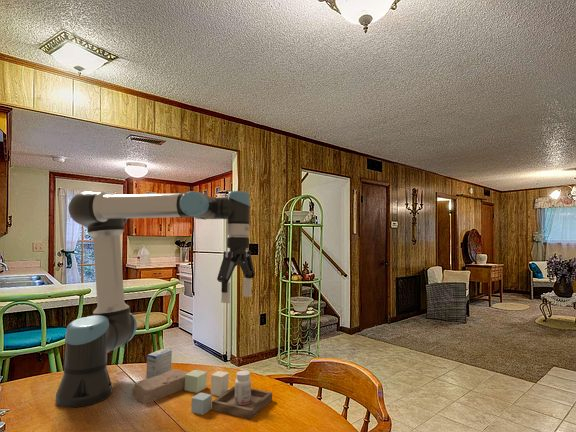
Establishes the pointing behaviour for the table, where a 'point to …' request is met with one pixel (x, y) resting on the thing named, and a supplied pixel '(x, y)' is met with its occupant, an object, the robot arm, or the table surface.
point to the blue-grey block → (201, 403)
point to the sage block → (195, 381)
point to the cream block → (219, 383)
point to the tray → (229, 406)
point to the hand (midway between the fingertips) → (236, 299)
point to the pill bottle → (243, 388)
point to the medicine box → (158, 362)
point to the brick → (159, 386)
